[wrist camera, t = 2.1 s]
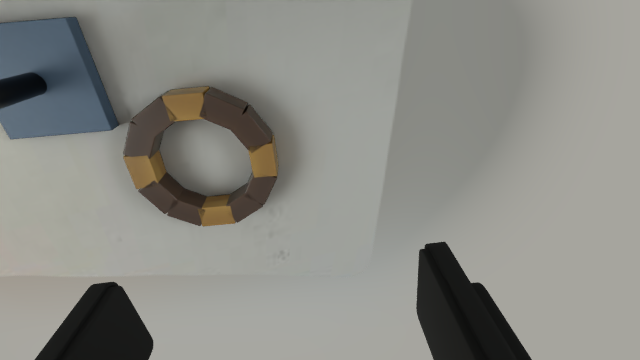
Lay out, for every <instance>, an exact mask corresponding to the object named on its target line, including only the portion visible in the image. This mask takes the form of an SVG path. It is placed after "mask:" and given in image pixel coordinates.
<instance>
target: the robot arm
mask: <svg viewBox="0 0 640 360" xmlns="http://www.w3.org/2000/svg"><path fill="white" fill-rule="evenodd" d="M417 315H418V318H419V321H420V324H421V327H422V329H423V332H424V335H425V337H426V340H427V343H428V345H429V348H430V351H431V353H432V356H433V359H434V360H532V359H531V358H530V356H529V355H528V353H527V352H526V350H525V349H524V347H523V346H522V344H521V343H520V341H519V339H518V338H517V336H516V335H515V333H514V332H513V330H512V329H511V327H510V325H509V324H508V322H507V321H506V319H505V318H504V316H503V315H502V313H501V312H500V310H499V308H498V307H497V305H496V304H495V302H494V301H493V299H492V298H491V296H490V295H489V293H488V291H487V290H486V289H485V287H484V286H483V285H482V284H480V283H470V281H469V279H468V278H467V276H466V275H465V273H464V271H463V270H462V268H461V266H460V265H459V263H458V261H457V260H456V258H455V257H454V255H453V253H452V252H451V250H450V248H449V247H448V245H447V244H446V243H445V242H439V243H430V244H426V245H425V249H421V250H420V251H419V268H418V288H417ZM152 349H153V339H152V337H151V335H150V334H149V332H148V330H147V329H146V327H145V325H144V323H143V322H142V320H141V318H140V316H139V315H138V313H137V311H136V310H135V308H134V306H133V304H132V303H131V301H130V299H129V297H128V296H127V294H126V293H125V291H124V289H123V288H122V287H121V286H118V284H117V283H115V282H108V283H99V284H93V285H91V286H90V287H89V288H88V290H87V291H86V292H85V294H84V295H83V296H82V298H81V299H80V300H79V302H78V303H77V304H76V306H75V307H74V308H73V310H72V311H71V312H70V314H69V315H68V316H67V318H66V319H65V320H64V321H63V323H62V324H61V325H60V327H59V328H58V329H57V331H56V332H55V333H54V335H53V336H52V338H51V339H50V340H49V342H48V343H47V344H46V345H45V347H44V348H43V350H42V351H41V352H40V353H39V355H38V356H37V357H36V359H35V360H148V359H149V357H150V355H151V352H152Z"/></svg>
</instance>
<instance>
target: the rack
mask: <svg viewBox="0 0 640 360" xmlns="http://www.w3.org/2000/svg"><path fill="white" fill-rule="evenodd" d="M0 122H1V124H2V126H3V128H4V129H5V131H6V133H7V134H8V136H9V138H10V139H19V138H30V137H42V136H53V135H64V134H75V133H86V132H98V131H109V130H113V129H114V128H116V127H117V126H119V124H118V122H117V119H116V117H115V114H114V112H113V109H112V107H111V104H110V102H109V99H108V97H107V94H106V92H105V89H104V87H103V84H102V82H101V79H100V77H99V74H98V72H97V69H96V66H95V64H94V61H93V59H92V56H91V54H90V51H89V49H88V46H87V44H86V41H85V39H84V36H83V34H82V31H81V29H80V26H79V24H78V21H77V19H76V17H68V18H55V19H43V20H31V21H19V22H8V23H0Z"/></svg>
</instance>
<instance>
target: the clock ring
mask: <svg viewBox="0 0 640 360" xmlns="http://www.w3.org/2000/svg"><path fill="white" fill-rule="evenodd" d="M246 106H247V102H245V101H243V100H240V99H238V98H236V97H233V96H231V95H229V94H227V93H224V92H222V91H220V90H217V89H215V88H213V87H211V88H210V89H209V87H208V86H207V87H196V88H185V89H173V90H170V91H167V92H166V93H164V94H163V95H161V96H160V97H158V98H157V99H156V100H155V101H153V102H152V103H151V104H150V105H148V106H147V107H146V108H145V109H143V110H142V111H141V112H140V113H139V114H137V115H136V116H135V117H134V118H132V121H131V122H130V124H129V129H128V134H127V138H126V143H125V148H124V152H123V154H124V155H125V156H124V157H123V158H124V160H125V163H126V165H127V168H128V170H129V172H130V175H131V177H132V180H133V182H134V185H135V187H136V189H139V190H138V191H139V192H140V193H141V194H142V195H143V196H144V197H146V198H147V199H148V200H149V201H150V202H151V203H153V204H154V205H155V206H156V207H157V208H158V209H159V210H161V211H162V212H163V213H164V214H166V213H167V212H168V214H167V216H170V217H173V218H177V219H180V220H183V221H186V222H189V223H192V224H195V225H198V226H201V223H202V226H212V225H223V224H234V223H235V222H239V221H241V220H242V219H244V218H246V217H247V216H249V215H250V214H252V213H253V212H255V211H257V210H258V209H260V208H261V207H263V204H265V202H266V200H267V198H268V196H269V194H270V192H271V190H272V188H273V185H274V183H275V181H276V179H277V174H278V166H279V165H278V158H277V152H276V145H275V139H274V135H272V133H273V132H272V131H271V130H270V129H269V127H268V126H267V125H266V124H265V122H264V121H263V120H262V119H261V117H260V116H259V115H258V114H257V112H256V111H255V110H254V109H253V108H252V106H251V105H248V106H247V107H246ZM196 119H205V120H208V121H210V122H213V123H215V124H218V125H220V126H223V127H225V128H227V129H230V130H231V131H232V132H233V133H234V134H235V135H236V137H237V138H238V139H239V140H240V141H241V142H242V143H243V145H244V146H245V147H246V148H247V149H248V150H249V155H250V160H251V165H252V170H253V172H252V174H251V176H250V179H249V181H248V183H247V184H245V185H244V186H242V187H241V188H239V189H238V190H236V191H235V192H233V193H232V194H229V195H219V196H208V197H207V196H204V195H201V194H199V193H196V192H193V191H190V190H187V189H184V188H183V187H182V186H181V185H180V184H179V183H178V182H177V181H176V180H175V179H173V178H172V177H171V176H170V175H169V174H168V173H167V172H166V169H165V166H164V163H163V160H162V158H161V155H160V152H159V147H160V143H161V140H162V136H163V132H164V130H165V129H166V128H167V127H169V126H170V125H171V124H173V123H174V122H175V121H185V120H196Z"/></svg>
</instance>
